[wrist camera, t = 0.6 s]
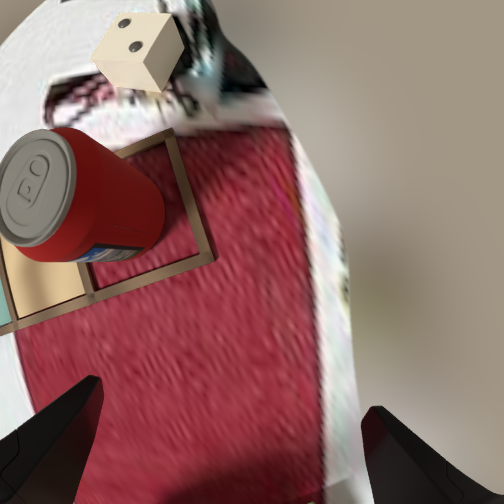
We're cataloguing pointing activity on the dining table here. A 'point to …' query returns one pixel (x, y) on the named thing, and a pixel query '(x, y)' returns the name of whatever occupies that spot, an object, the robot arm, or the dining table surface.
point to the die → (139, 51)
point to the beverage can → (76, 200)
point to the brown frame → (78, 273)
